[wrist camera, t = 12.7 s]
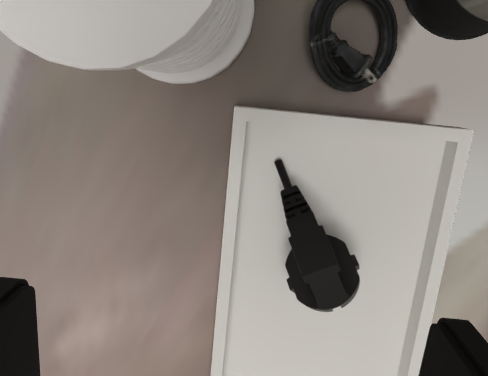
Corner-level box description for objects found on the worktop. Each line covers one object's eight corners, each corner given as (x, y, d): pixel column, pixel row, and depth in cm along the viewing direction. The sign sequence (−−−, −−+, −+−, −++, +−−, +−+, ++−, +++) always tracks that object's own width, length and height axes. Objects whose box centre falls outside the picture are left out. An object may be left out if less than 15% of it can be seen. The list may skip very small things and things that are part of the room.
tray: (236, 105, 34) (234, 106, 31) (459, 127, 34) (474, 130, 31) (211, 380, 40) (208, 399, 38) (400, 401, 40) (409, 422, 37)
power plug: (309, 143, 33) (373, 291, 28) (318, 177, 40) (371, 301, 35) (243, 170, 34) (294, 318, 29) (264, 199, 41) (308, 323, 36)
